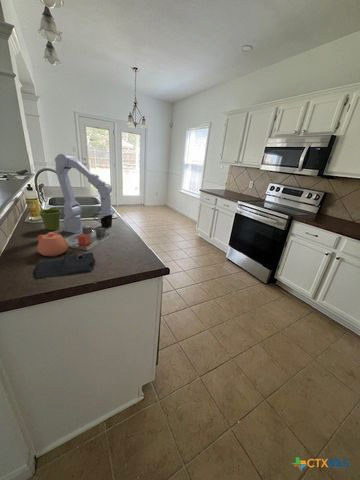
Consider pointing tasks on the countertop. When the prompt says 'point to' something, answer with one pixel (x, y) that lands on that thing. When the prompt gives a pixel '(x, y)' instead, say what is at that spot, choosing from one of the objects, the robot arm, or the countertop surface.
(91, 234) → the breaker panel
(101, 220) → the coffee mug
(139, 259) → the countertop surface
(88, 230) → the breaker
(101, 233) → the block
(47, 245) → the sugar bowl
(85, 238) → the red cube
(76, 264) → the dark slate chunk
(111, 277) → the countertop surface
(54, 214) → the plant pot
